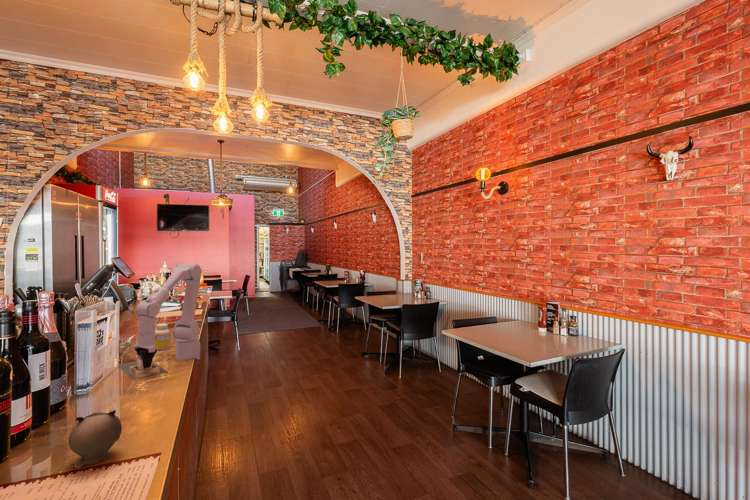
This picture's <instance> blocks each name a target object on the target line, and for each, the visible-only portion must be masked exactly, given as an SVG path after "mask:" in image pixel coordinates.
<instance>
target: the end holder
mask: <svg viewBox="0 0 750 500" xmlns="http://www.w3.org/2000/svg"><path fill="white" fill-rule="evenodd" d="M153 362H154V361H153ZM153 362H152V368H151V369H146V370H141V371H138V370H137V366H132V367H130V374H131V375H132V376H133V377H135V378H136V380H139V379H138V378H140V379H143V378H142V377H145V378H148V377H147V376H149V377H152V376H151V375H154V376H157V375H156V374H159V373H160V367H161V366H160V367H158V366H159V365H158V364H157V365H158V366H157V365H155V364H154V363H155V362H154V363H153ZM159 375H160V374H159Z"/></svg>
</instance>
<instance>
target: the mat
mask: <svg viewBox="0 0 750 500" xmlns="http://www.w3.org/2000/svg"><path fill="white" fill-rule="evenodd" d="M152 362H153V363H154V364H155V365H157V366H158V367H160V373H159V374H156V375H151V376H147V377H142V378H138V379H136V378H135V377H133V376H132V375H131V374H130V367H132V366H137V360H136V361H131V362H125V363H120V364H116V366H117V367H118V368H119V369H120V370H122V372H124V373H125V374H126V375H127V376H129V377H130V379H132V380H133V381H135V380H139V379H144V378H149V377H153V376H158V375H162V374H165V375H163V376H166V374H167V373H169V372H168V371H167V370H166V369H164V368H162V366H160V365H158V363H156V362H154V361H153V360H152ZM154 378H157V377H154ZM147 380H148V379H145V381H147ZM137 382H139V381H136V383H137Z"/></svg>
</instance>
